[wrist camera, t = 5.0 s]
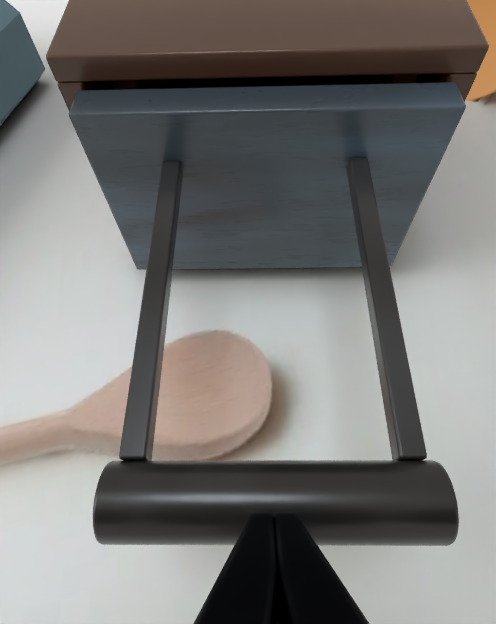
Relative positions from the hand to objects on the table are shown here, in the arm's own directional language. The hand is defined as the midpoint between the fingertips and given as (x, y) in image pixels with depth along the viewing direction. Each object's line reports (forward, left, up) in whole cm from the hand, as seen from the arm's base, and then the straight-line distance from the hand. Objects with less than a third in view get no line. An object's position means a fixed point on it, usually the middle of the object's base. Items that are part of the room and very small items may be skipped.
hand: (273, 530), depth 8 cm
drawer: (+12, -6, -6) cm, 15 cm away
